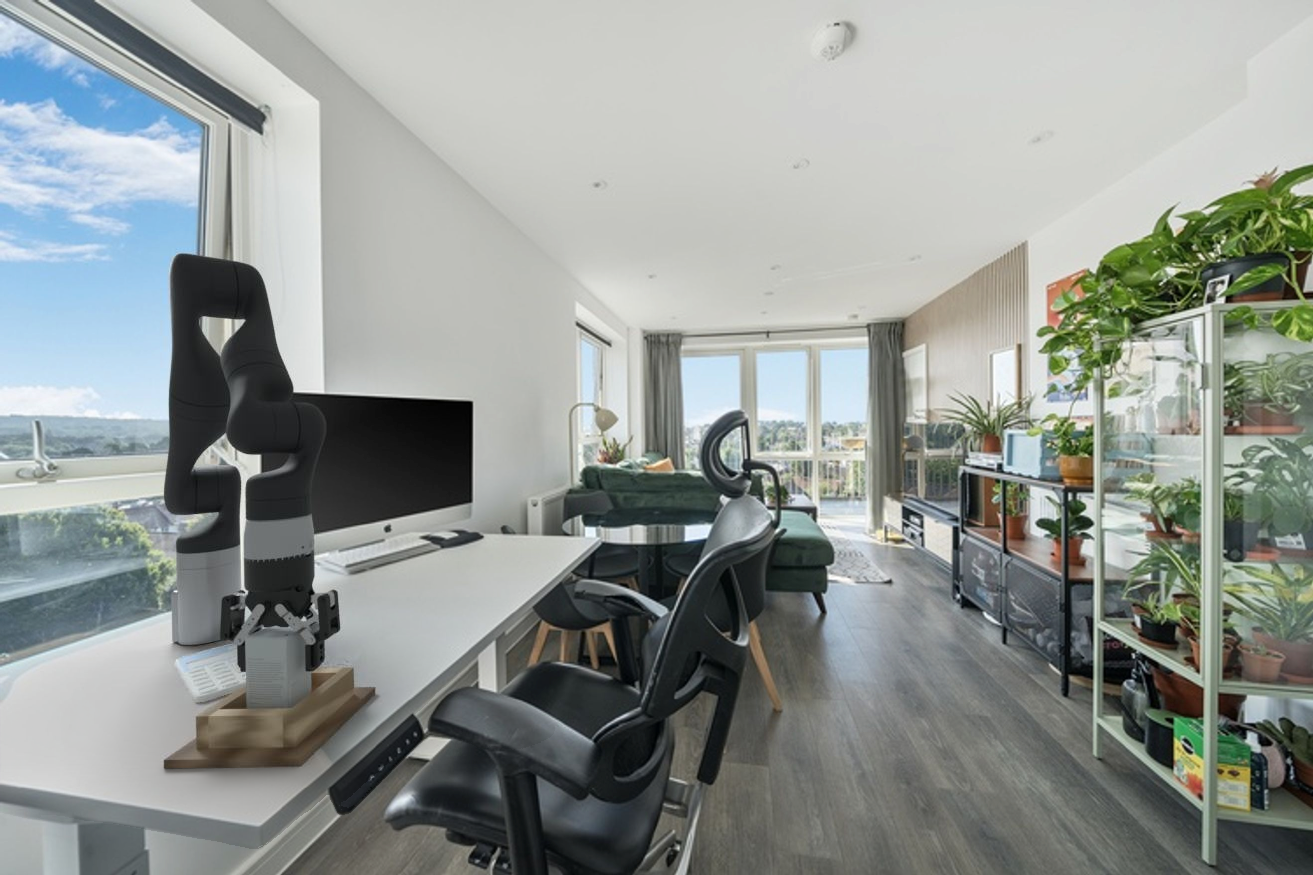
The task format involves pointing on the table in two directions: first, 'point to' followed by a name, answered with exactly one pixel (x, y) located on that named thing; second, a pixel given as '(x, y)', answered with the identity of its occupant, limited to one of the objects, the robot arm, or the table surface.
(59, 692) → the table surface
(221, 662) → the calculator
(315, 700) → the wooden box stand
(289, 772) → the table surface
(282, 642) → the skincare box
